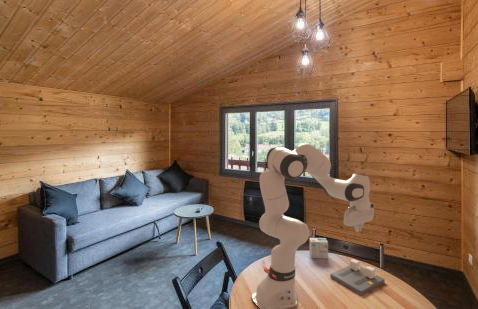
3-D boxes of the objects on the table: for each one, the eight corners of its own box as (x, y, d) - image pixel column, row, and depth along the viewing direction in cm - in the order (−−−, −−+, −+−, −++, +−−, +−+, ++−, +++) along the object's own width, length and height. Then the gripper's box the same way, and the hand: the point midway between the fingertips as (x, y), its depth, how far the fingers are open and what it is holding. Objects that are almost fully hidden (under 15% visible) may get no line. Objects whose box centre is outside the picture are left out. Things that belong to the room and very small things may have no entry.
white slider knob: (355, 270, 140) (355, 263, 139) (350, 268, 142) (350, 260, 142) (359, 269, 141) (359, 261, 141) (353, 266, 144) (353, 259, 144)
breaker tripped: (371, 278, 132) (371, 270, 131) (365, 275, 135) (365, 267, 134) (374, 277, 133) (375, 269, 133) (368, 274, 136) (368, 266, 136)
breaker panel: (361, 295, 122) (361, 290, 122) (330, 277, 138) (330, 273, 138) (384, 282, 133) (384, 278, 132) (353, 267, 148) (353, 263, 148)
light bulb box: (325, 253, 164) (326, 237, 163) (328, 259, 158) (328, 242, 157) (308, 253, 165) (309, 237, 164) (310, 258, 159) (311, 241, 158)
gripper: (352, 209, 122) (350, 237, 123) (376, 203, 132) (375, 229, 133) (340, 206, 127) (339, 233, 128) (365, 201, 138) (364, 226, 139)
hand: (358, 231), depth 131 cm, fingers closed
